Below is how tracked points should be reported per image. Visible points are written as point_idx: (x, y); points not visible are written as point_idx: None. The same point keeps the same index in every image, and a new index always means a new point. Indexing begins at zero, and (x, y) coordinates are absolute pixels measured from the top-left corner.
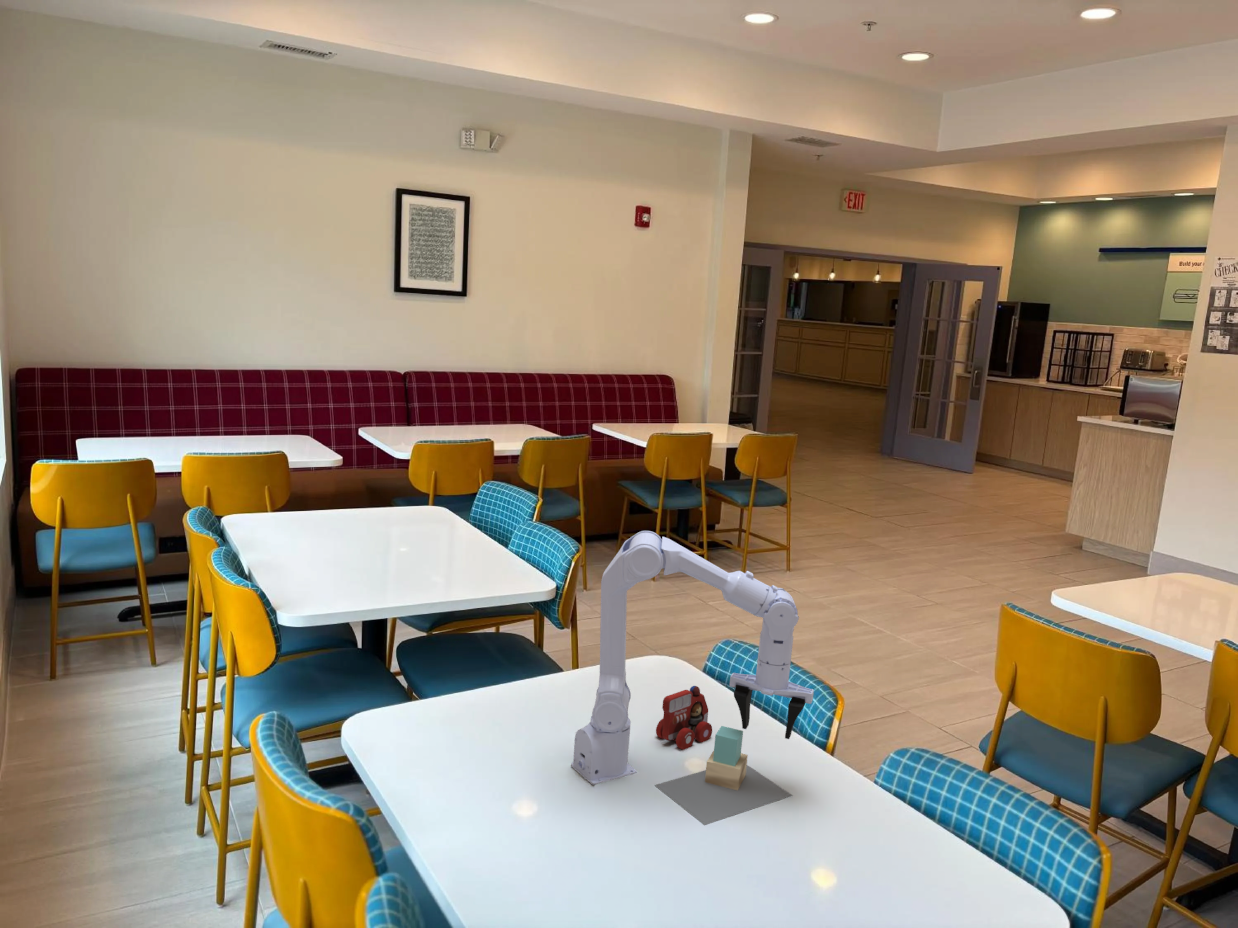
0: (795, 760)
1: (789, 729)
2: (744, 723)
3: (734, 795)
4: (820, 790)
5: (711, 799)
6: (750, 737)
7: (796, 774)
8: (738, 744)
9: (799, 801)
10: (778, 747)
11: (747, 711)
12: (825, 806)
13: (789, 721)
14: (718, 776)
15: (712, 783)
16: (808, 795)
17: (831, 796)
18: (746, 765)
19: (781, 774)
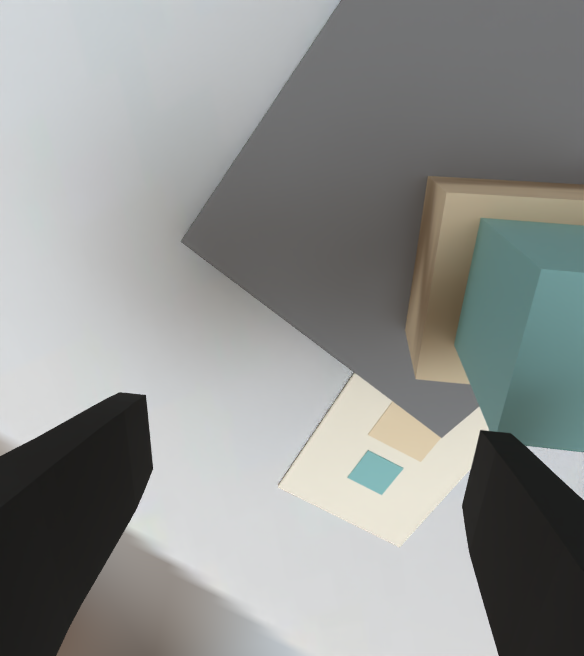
0: (236, 505)
1: (61, 428)
2: (516, 455)
3: (439, 117)
4: (102, 338)
5: (565, 5)
6: (416, 599)
7: (211, 417)
8: (505, 302)
9: (151, 219)
10: (309, 565)
11: (531, 588)
12: (49, 225)
13: (4, 479)
14: (552, 189)
15: (564, 184)
16: (131, 283)
17: (54, 311)
18: (409, 348)
19: (264, 398)
